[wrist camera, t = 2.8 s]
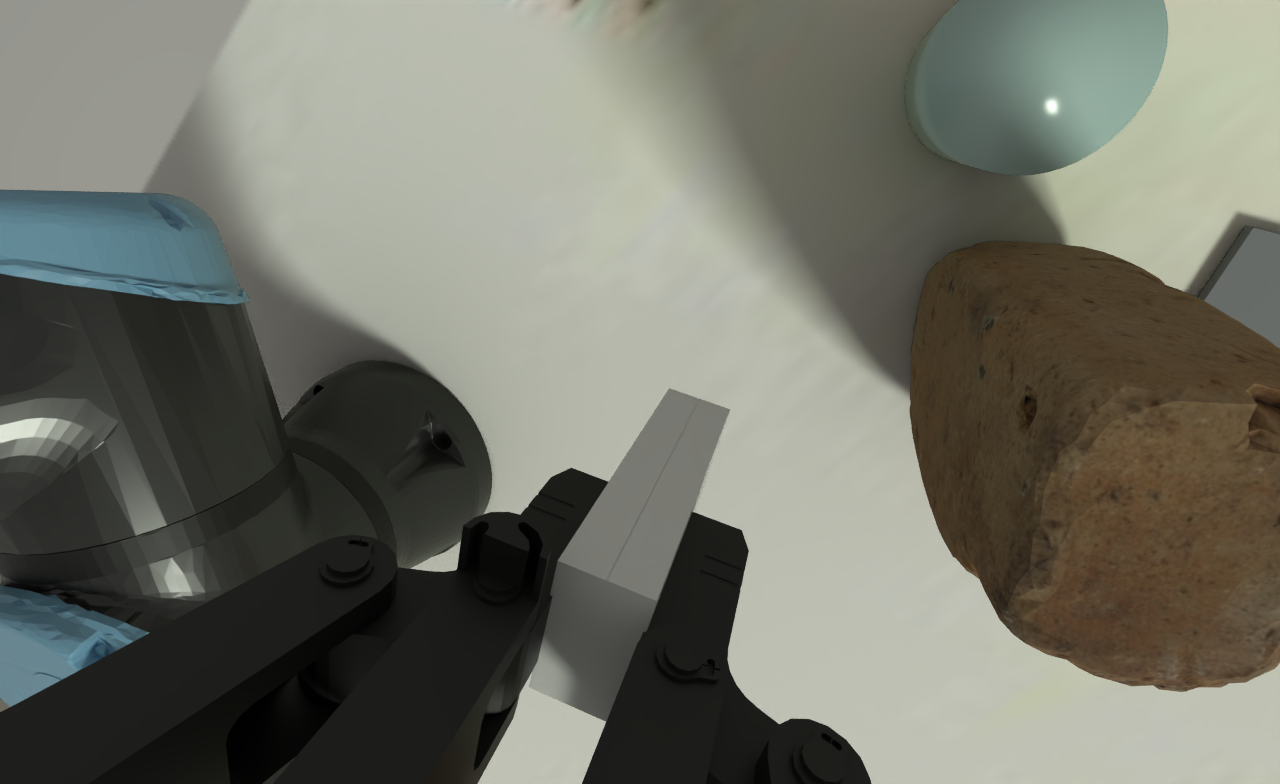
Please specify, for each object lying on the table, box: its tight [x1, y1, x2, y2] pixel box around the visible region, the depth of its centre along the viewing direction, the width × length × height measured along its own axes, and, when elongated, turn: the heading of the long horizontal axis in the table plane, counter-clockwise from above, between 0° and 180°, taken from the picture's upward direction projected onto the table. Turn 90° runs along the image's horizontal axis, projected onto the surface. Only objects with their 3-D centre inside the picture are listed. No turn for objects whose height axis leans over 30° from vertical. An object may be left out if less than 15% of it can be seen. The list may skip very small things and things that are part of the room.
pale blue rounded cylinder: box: [904, 0, 1168, 176], centre depth 24 cm, size 7×7×8 cm
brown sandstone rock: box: [910, 241, 1280, 692], centre depth 23 cm, size 11×8×20 cm
